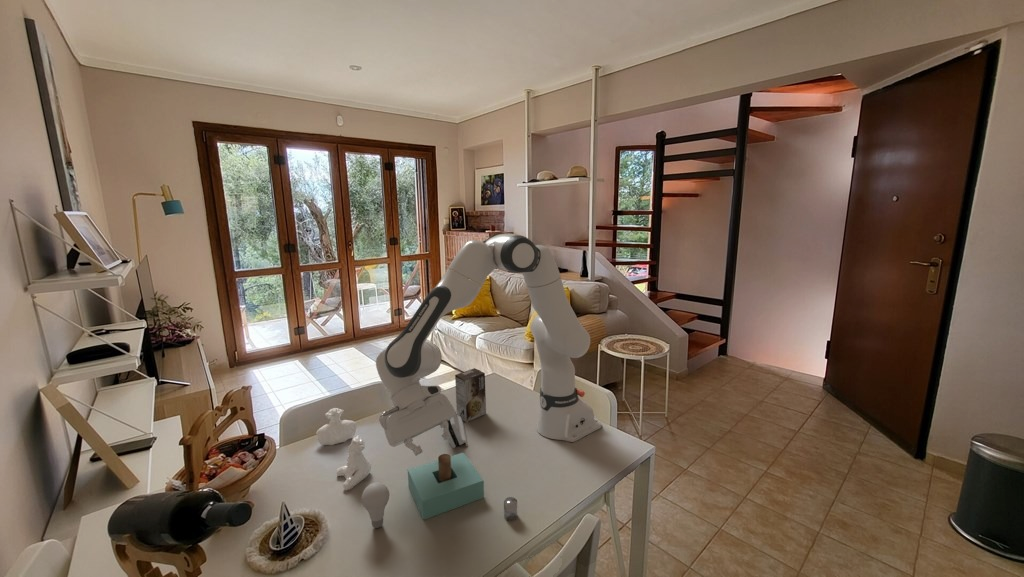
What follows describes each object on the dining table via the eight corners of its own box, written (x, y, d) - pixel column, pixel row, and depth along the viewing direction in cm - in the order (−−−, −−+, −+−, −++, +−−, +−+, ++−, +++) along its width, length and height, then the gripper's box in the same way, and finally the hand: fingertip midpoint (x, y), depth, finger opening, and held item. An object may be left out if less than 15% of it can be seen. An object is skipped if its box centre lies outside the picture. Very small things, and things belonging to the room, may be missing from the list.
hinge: (468, 446, 128) (456, 420, 125) (454, 452, 127) (442, 426, 125) (462, 420, 144) (452, 396, 141) (450, 425, 143) (439, 402, 141)
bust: (357, 440, 135) (351, 407, 140) (359, 436, 130) (353, 401, 134) (317, 451, 130) (313, 416, 134) (318, 447, 124) (313, 410, 128)
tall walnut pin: (449, 486, 109) (448, 452, 107) (453, 493, 106) (452, 458, 104) (438, 490, 108) (436, 456, 106) (442, 497, 105) (440, 462, 103)
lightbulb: (374, 514, 99) (371, 474, 97) (396, 520, 97) (393, 479, 95) (358, 533, 93) (354, 491, 91) (381, 539, 91) (378, 496, 89)
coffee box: (475, 408, 153) (474, 367, 150) (486, 414, 148) (485, 372, 145) (455, 416, 147) (454, 374, 144) (466, 422, 142) (465, 379, 139)
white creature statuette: (335, 474, 114) (331, 435, 112) (365, 463, 120) (362, 425, 117) (344, 492, 107) (341, 451, 105) (377, 479, 112) (374, 440, 110)
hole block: (463, 468, 117) (463, 452, 116) (483, 497, 105) (483, 480, 104) (408, 485, 109) (407, 469, 108) (423, 519, 97) (422, 501, 96)
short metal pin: (513, 509, 100) (513, 495, 100) (519, 518, 98) (519, 503, 97) (501, 514, 99) (501, 499, 98) (507, 522, 96) (507, 508, 95)
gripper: (380, 409, 103) (404, 459, 98) (443, 384, 118) (467, 426, 113) (372, 420, 106) (395, 468, 102) (435, 393, 121) (457, 435, 117)
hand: (434, 446), depth 108 cm, fingers open, 8 cm apart
